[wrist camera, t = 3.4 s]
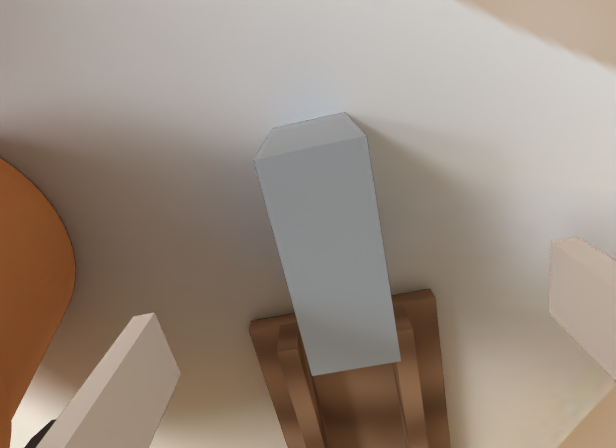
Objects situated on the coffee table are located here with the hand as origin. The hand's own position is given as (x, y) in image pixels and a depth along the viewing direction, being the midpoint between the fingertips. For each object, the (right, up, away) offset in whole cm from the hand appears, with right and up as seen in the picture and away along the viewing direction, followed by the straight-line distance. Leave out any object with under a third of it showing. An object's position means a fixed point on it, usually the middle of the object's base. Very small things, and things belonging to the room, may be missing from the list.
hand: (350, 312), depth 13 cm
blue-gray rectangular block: (0, +4, +10) cm, 11 cm away
